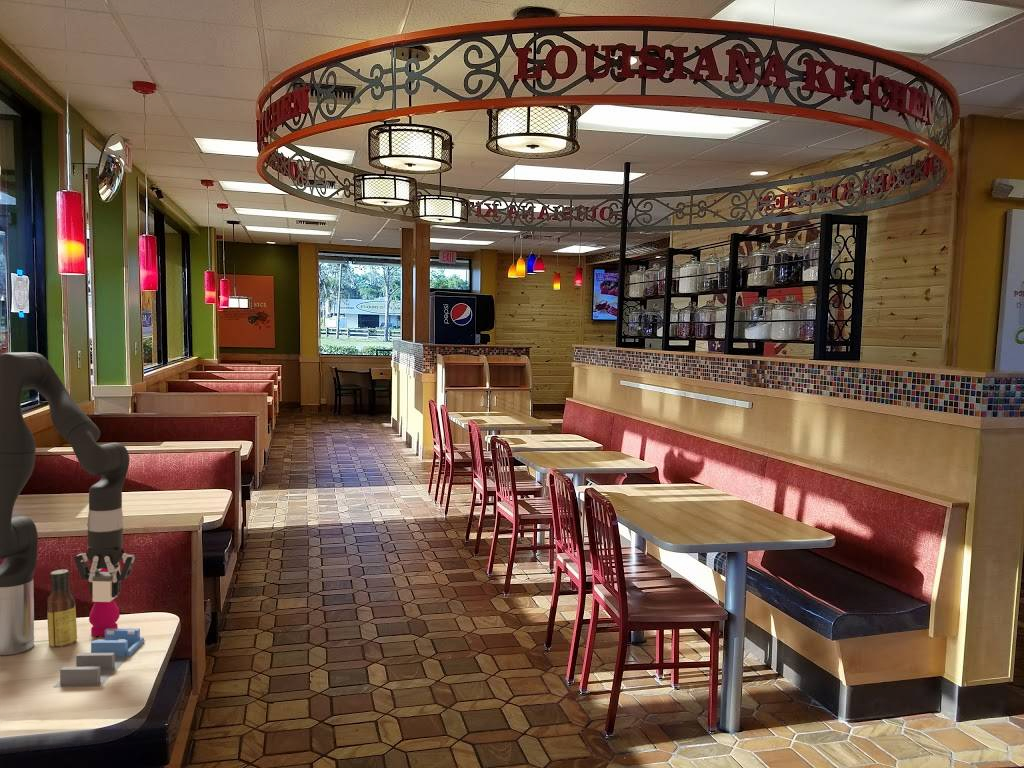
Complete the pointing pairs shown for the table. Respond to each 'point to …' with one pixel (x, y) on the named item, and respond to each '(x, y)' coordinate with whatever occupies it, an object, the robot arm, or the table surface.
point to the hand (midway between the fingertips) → (105, 595)
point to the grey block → (102, 587)
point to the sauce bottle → (61, 611)
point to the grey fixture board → (101, 659)
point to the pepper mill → (103, 616)
